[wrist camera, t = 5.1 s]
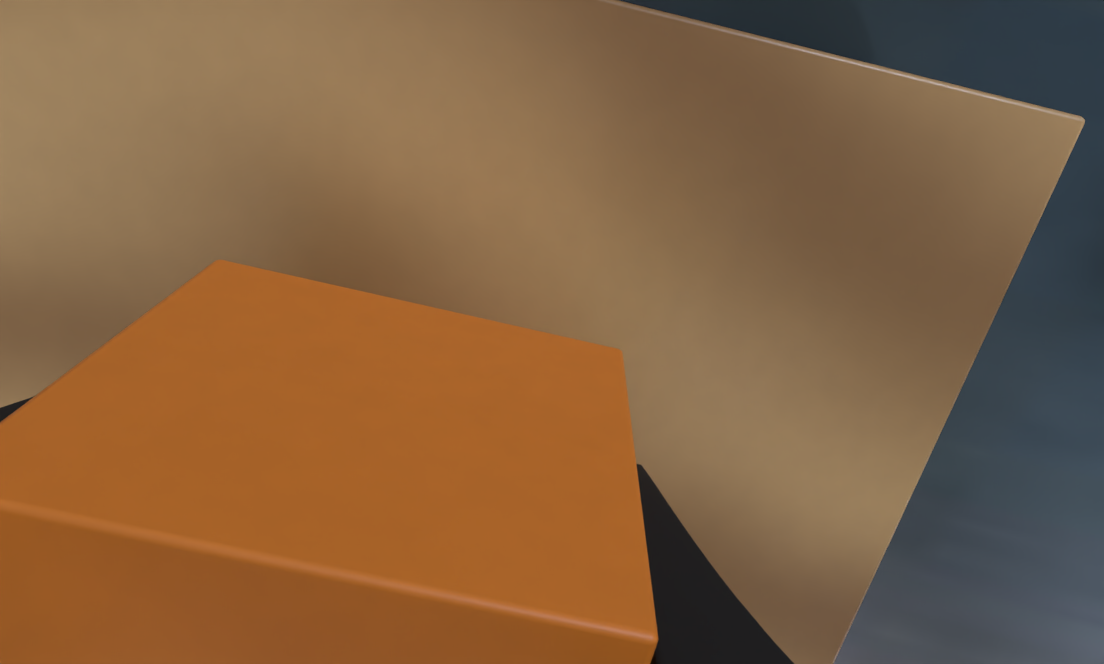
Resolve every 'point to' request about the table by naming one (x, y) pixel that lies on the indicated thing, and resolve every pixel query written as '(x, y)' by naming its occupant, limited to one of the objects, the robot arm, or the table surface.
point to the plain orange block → (324, 490)
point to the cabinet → (554, 227)
